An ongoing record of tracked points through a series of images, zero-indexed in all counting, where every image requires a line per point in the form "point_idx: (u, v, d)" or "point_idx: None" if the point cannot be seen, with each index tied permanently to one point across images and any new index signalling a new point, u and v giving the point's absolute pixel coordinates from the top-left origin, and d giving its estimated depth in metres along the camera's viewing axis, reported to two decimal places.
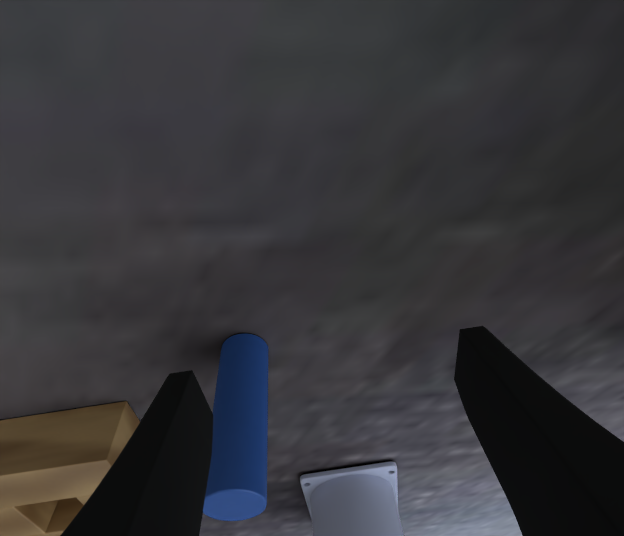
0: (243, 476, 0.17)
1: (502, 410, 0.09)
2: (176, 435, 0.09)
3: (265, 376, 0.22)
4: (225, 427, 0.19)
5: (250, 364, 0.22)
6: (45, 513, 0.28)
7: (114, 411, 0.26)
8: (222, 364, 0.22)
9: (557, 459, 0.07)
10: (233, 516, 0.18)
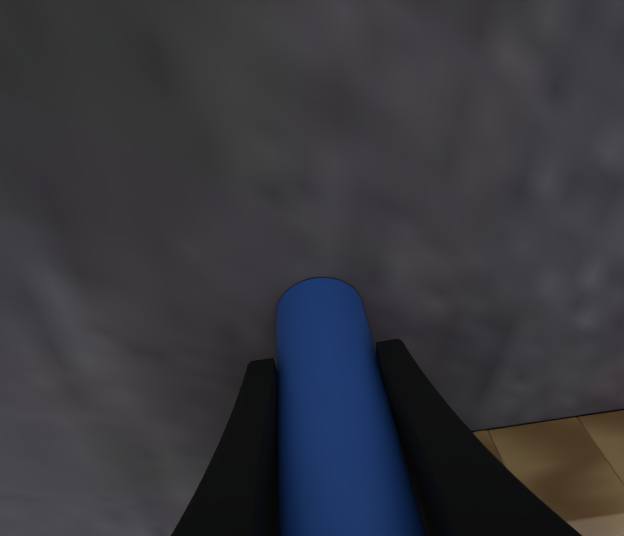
0: None
1: (402, 425, 0.09)
2: (270, 421, 0.09)
3: (309, 341, 0.10)
4: None
5: (280, 356, 0.11)
6: None
7: None
8: None
9: (431, 478, 0.07)
10: None
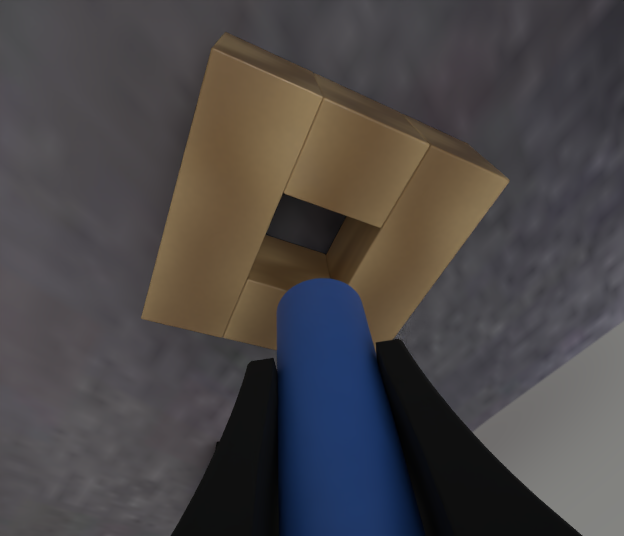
0: None
1: (402, 425, 0.09)
2: (270, 422, 0.09)
3: (309, 341, 0.10)
4: None
5: (280, 356, 0.11)
6: None
7: None
8: None
9: (431, 478, 0.07)
10: None
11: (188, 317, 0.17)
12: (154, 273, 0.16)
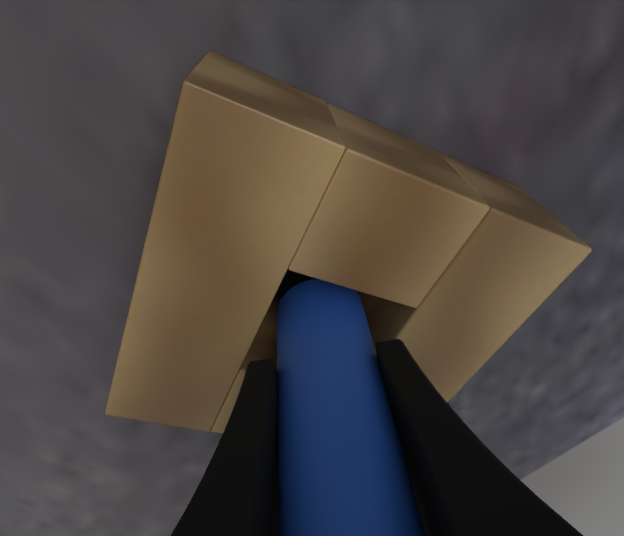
0: None
1: (403, 425, 0.09)
2: (270, 421, 0.09)
3: (309, 341, 0.10)
4: None
5: (280, 356, 0.11)
6: None
7: None
8: None
9: (432, 477, 0.07)
10: None
11: (165, 411, 0.13)
12: (118, 365, 0.12)
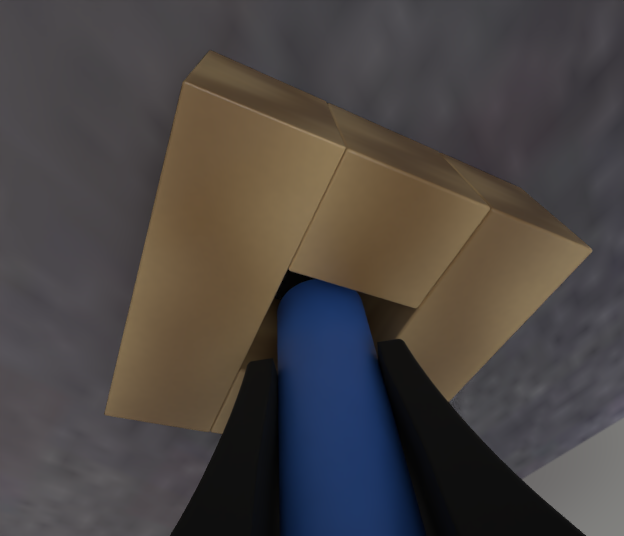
0: None
1: (404, 425, 0.09)
2: (270, 422, 0.09)
3: (310, 341, 0.10)
4: None
5: (281, 357, 0.11)
6: None
7: None
8: None
9: (433, 477, 0.07)
10: None
11: (165, 412, 0.13)
12: (117, 365, 0.12)
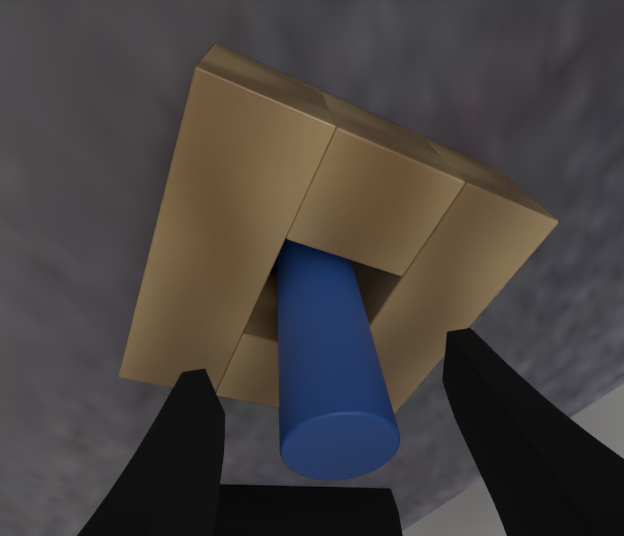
0: (282, 419, 0.09)
1: (487, 412, 0.09)
2: (191, 433, 0.09)
3: (301, 251, 0.14)
4: None
5: (279, 266, 0.14)
6: None
7: None
8: None
9: (537, 462, 0.07)
10: (376, 450, 0.09)
11: (174, 375, 0.15)
12: (132, 329, 0.13)
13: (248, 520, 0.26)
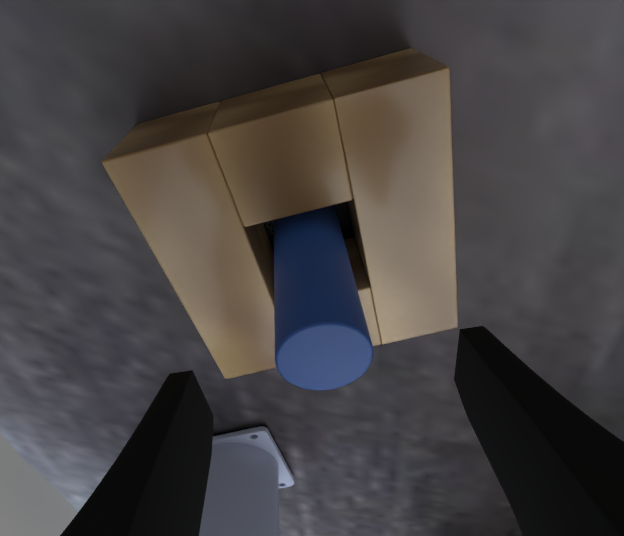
0: (368, 332, 0.12)
1: (502, 410, 0.09)
2: (176, 436, 0.09)
3: None
4: (339, 264, 0.13)
5: None
6: None
7: None
8: None
9: (557, 459, 0.07)
10: (298, 371, 0.12)
11: (391, 109, 0.12)
12: (450, 150, 0.13)
13: None
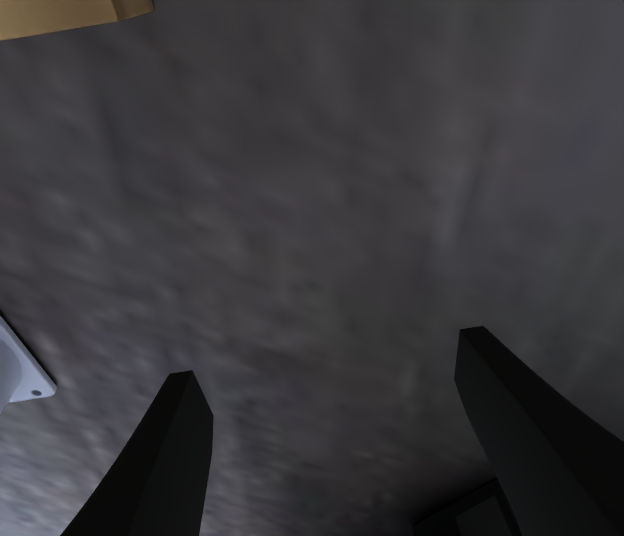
0: None
1: (502, 410, 0.09)
2: (177, 435, 0.09)
3: None
4: None
5: None
6: None
7: None
8: None
9: (557, 459, 0.07)
10: None
11: None
12: None
13: None
